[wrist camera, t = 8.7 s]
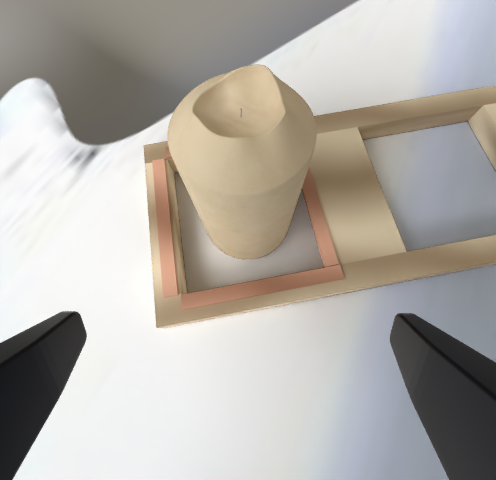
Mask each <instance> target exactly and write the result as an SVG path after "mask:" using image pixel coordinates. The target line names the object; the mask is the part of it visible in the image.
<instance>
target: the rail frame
mask: <svg viewBox="0 0 496 480" xmlns="http://www.w3.org/2000/svg"><path fill="white" fill-rule="evenodd" d="M314 119H315V123H316V129H317V138H316V144H315V149H314V152H313V155H312V158H311V161H310V164H309V168H308V171H307V174H306V177H305V180H304V183H303V186H302V192H303V195H304V199H305V202H306V206H307V209H308V213H309V216H310V220H311V223H312V227H313V230H314V234H315V237H316V241H317V244H318V248H319V251H320V255H321V258H322V262H323V265H324V268H318V269H313V270H308V271H303V272H297V273H292V274H287V275H282V276H276V277H271V278H266V279H260V280H255V281H250V282H245V283H239V284H234V285H229V286H224V287H218V288H213V289H208V290H203V291H197V292H192V293H187V287H186V278H185V269H184V260H183V250H182V241H181V232H180V223H179V214H178V205H177V196H176V187H175V178H174V172H178V169H177V167H176V165H175V163H174V161H173V159H172V156H171V153H170V151H169V146H168V141H166V142H160V143H154V144H148V145H144V157H145V172H146V186H147V200H148V215H149V229H150V243H151V257H152V272H153V286H154V300H155V314H156V328H169V327H174V326H179V325H184V324H189V323H195V322H200V321H205V320H210V319H215V318H220V317H225V316H231V315H236V314H241V313H246V312H251V311H256V310H262V309H267V308H272V307H277V306H282V305H287V304H293V303H298V302H303V301H308V300H313V299H318V298H324V297H329V296H334V295H339V294H344V293H349V292H355V291H360V290H365V289H370V288H375V287H380V286H386V285H391V284H396V283H401V282H406V281H411V280H416V279H422V278H427V277H432V276H437V275H442V274H447V273H453V272H458V271H463V270H468V269H473V268H478V267H484V266H489V265H494V264H496V235H492V236H487V237H482V238H476V239H471V240H466V241H461V242H455V243H450V244H445V245H439V246H434V247H429V248H424V249H418V250H413V251H408V252H407V251H406V249H405V246H404V244H403V241H402V239H401V236H400V234H399V231H398V228H397V226H396V223H395V221H394V218H393V216H392V213H391V211H390V208H389V206H388V203H387V201H386V198H385V196H384V193H383V191H382V188H381V186H380V183H379V181H378V178H377V175H376V173H375V170H374V168H373V165H372V163H371V160H370V158H369V155H368V153H367V150H366V148H365V145H364V143H363V139H369V138H375V137H380V136H386V135H392V134H398V133H403V132H409V131H415V130H421V129H426V128H432V127H438V126H443V125H449V124H455V123H461V122H466V121H468V123H469V125H470V126H471V128H472V130H473V132H474V133H475V135H476V137H477V139H478V140H479V142H480V144H481V146H482V147H483V149H484V151H485V153H486V155H487V156H488V158H489V160H490V162H491V163H492V165H493V167H494V169H495V170H496V88H495V87H494V86H489V87H483V88H477V89H471V90H465V91H459V92H453V93H447V94H442V95H436V96H430V97H424V98H418V99H412V100H406V101H401V102H395V103H389V104H383V105H377V106H371V107H365V108H360V109H354V110H348V111H342V112H336V113H330V114H324V115H318V116H314Z"/></svg>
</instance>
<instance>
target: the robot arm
mask: <svg viewBox="0 0 496 480" xmlns="http://www.w3.org/2000/svg"><path fill="white" fill-rule="evenodd" d="M86 337H87V334H86V330H85V327H84V324H83V321H82V318H81V316H80V314H79V313H78V312H75V311H64V312H60V313H58V314H56V315H54V316H52V317H50V318H48V319H47V320H45V321H43V322H41V323H39V324H37V325H35V326H33V327H31V328H29V329H27V330H25V331H23V332H21V333H19V334H17V335H15V336H13V337H11V338H9V339H7V340H5V341H4V342H2V343H0V480H13V478H14V476H15V474H16V473H17V471H18V469H19V467H20V466H21V464H22V462H23V460H24V459H25V457H26V455H27V453H28V452H29V450H30V448H31V446H32V445H33V443H34V441H35V439H36V438H37V436H38V434H39V432H40V431H41V429H42V427H43V425H44V424H45V422H46V420H47V419H48V417H49V415H50V413H51V412H52V410H53V408H54V406H55V405H56V403H57V401H58V399H59V397H60V395H61V394H62V391H63V389H64V387H65V385H66V383H67V381H68V379H69V377H70V375H71V372H72V370H73V368H74V366H75V364H76V361H77V359H78V357H79V355H80V353H81V351H82V348H83V346H84V344H85V342H86ZM390 343H391V346H392V349H393V352H394V355H395V357H396V360H397V363H398V366H399V368H400V371H401V374H402V377H403V379H404V382H405V385H406V388H407V390H408V393H409V395H410V398H411V400H412V403H413V405H414V407H415V409H416V411H417V413H418V415H419V418H420V420H421V422H422V424H423V426H424V428H425V430H426V432H427V434H428V436H429V438H430V441H431V443H432V445H433V447H434V449H435V451H436V453H437V455H438V457H439V459H440V461H441V463H442V466H443V468H444V470H445V472H446V474H447V476H448V478H449V480H496V362H494V361H492V360H490V359H489V358H487V357H485V356H484V355H482V354H480V353H479V352H477V351H475V350H474V349H472V348H470V347H469V346H467V345H465V344H464V343H462V342H460V341H459V340H457V339H455V338H453V337H452V336H450V335H448V334H447V333H445V332H443V331H442V330H440V329H438V328H437V327H435V326H433V325H432V324H430V323H428V322H427V321H425V320H423V319H422V318H420V317H418V316H416V315H415V314H411V313H399V314H397V315H396V316H395V319H394V323H393V326H392V330H391V334H390Z"/></svg>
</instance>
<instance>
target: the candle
mask: <svg viewBox="0 0 496 480" xmlns="http://www.w3.org/2000/svg"><path fill="white" fill-rule="evenodd" d="M316 138H317V129H316V123H315V119H314V116H313V114H312V111H311V109H310V108H309V106H308V104H307V103H306V102H305V101H304V99H303V98H302V97H301V96H300V95H299V94H298V93H297V92H296V91H294V90H293V89H292V88H291V87H289V86H288V85H287V84H285V83H284V82H283V81H281V80H280V79H279V78H278V77H276V76H275V75H274V74H273V73H272V72H271V71H270V69H269V68H267V67H266V66H264V65H250V66H246V67H242V68H238V69H235V70H233V71H231V72H228V73H225V74H221V75H218V76H216V77H213V78H211V79H209V80H207V81H205V82H204V83H202V84H200V85H199V86H197V87H196V88H195V89H193V90H192V91H191V92H190V93H189V94H188V95H187V96H186V97H185V98H184V99H183V100H182V101H181V102H180V104H179V105H178V106H177V108H176V109H175V111H174V113H173V115H172V117H171V120H170V123H169V127H168V146H169V151H170V153H171V156H172V159H173V161H174V163H175V165H176V167H177V169H178V172H179V174H180V176H181V178H182V180H183V182H184V184H185V187H186V189H187V191H188V193H189V195H190V197H191V199H192V202H193V204H194V206H195V208H196V210H197V212H198V214H199V217H200V219H201V221H202V223H203V225H204V227H205V229H206V232H207V233H208V235H209V237H210V239H211V241H212V242H213V243H214V245H215V246H216V247H217V248H218V249H220V250H221V251H222V252H224V253H225V254H227V255H229V256H232V257H234V258H238V259H256V258H260V257H263V256H265V255H267V254H269V253H271V252H272V251H273V250H275V249H276V248H277V247H278V246H279V245H280V244H281V242H282V241H283V240H284V238H285V236H286V234H287V231H288V229H289V226H290V223H291V220H292V217H293V214H294V211H295V208H296V205H297V202H298V198H299V195H300V192H301V189H302V186H303V183H304V180H305V177H306V174H307V171H308V168H309V164H310V161H311V158H312V155H313V152H314V149H315V144H316Z"/></svg>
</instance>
